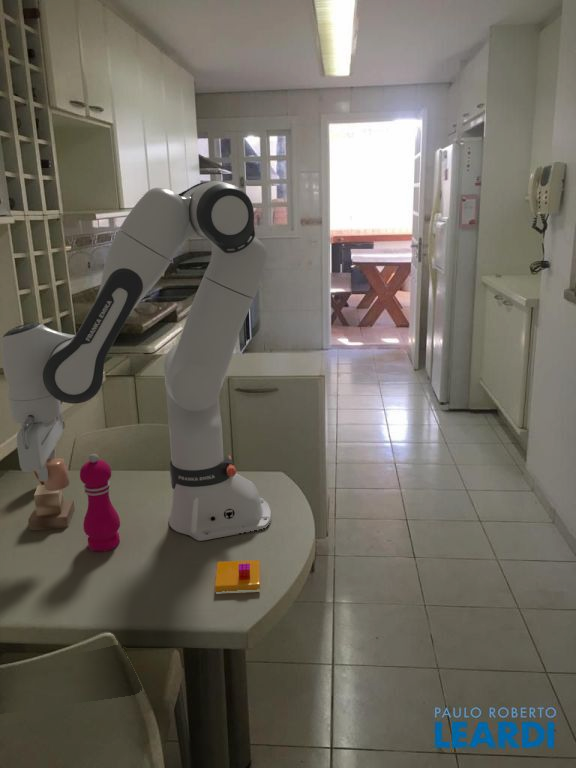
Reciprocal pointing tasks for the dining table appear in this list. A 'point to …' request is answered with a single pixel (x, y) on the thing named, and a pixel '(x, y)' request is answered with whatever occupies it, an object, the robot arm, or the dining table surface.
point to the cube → (48, 501)
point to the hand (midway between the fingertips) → (48, 473)
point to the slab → (52, 518)
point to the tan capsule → (56, 475)
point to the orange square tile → (237, 575)
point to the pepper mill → (99, 506)
